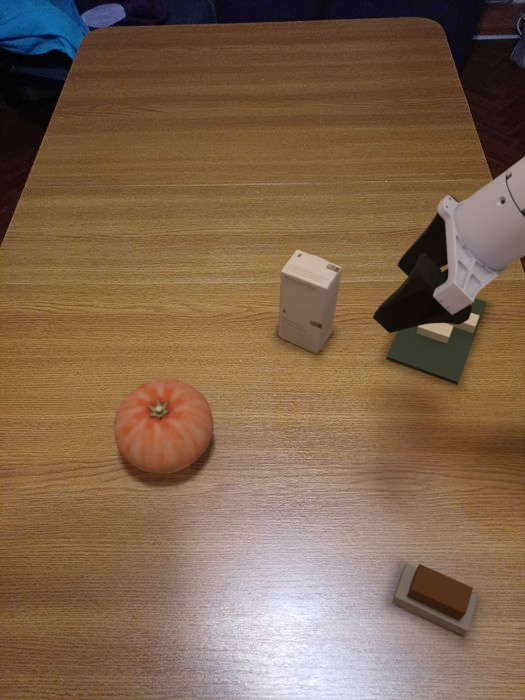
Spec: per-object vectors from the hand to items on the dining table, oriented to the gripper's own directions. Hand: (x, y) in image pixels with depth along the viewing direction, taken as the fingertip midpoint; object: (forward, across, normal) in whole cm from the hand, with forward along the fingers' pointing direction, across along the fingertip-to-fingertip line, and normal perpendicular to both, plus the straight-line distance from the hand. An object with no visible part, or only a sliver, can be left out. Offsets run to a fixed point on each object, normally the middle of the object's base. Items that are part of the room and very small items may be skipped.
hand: (394, 295), depth 52 cm
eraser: (+14, +12, +24) cm, 30 cm away
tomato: (+32, +6, -3) cm, 32 cm away
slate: (+14, -21, +14) cm, 29 cm away
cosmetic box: (+24, -14, +3) cm, 28 cm away
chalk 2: (+12, -22, +16) cm, 30 cm away
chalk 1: (+14, -20, +14) cm, 28 cm away
